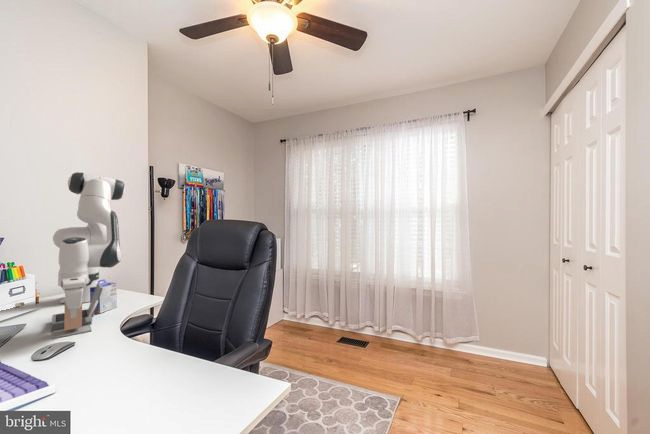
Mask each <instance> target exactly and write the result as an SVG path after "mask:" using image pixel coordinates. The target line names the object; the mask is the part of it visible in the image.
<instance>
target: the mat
mask: <svg viewBox="0 0 650 434" xmlns="http://www.w3.org/2000/svg"><path fill="white" fill-rule="evenodd" d="M91 325H92V324H91ZM91 325H90V324H89V325H83V326H82V327H80V328H75V329H70V330H65V331H64V329H62V330H57V331H53V332H52V340H55V339H60V338H66V337H71V336H75V335H79V334H86V333H90V332H92V326H91Z"/></svg>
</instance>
